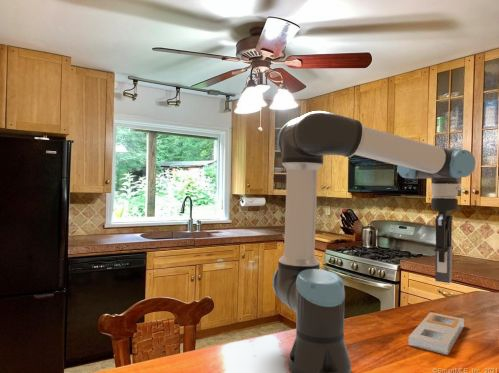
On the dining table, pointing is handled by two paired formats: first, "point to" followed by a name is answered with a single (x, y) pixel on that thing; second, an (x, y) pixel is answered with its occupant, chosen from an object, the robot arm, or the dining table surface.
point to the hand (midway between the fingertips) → (443, 270)
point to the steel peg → (447, 276)
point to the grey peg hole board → (437, 333)
